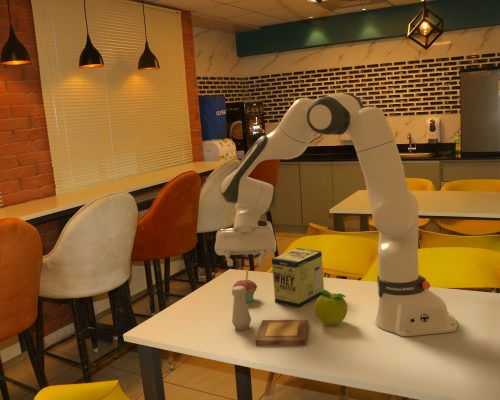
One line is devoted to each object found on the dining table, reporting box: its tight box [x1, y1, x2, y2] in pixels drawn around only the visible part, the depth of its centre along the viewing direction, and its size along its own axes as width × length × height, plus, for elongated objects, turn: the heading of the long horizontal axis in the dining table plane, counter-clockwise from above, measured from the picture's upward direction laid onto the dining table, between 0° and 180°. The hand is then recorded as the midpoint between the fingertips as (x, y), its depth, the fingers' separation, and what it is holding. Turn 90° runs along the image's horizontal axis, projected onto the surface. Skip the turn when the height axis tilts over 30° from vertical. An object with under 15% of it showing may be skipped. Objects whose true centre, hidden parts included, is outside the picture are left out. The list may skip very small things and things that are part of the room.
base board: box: [254, 318, 309, 346], centre depth 150 cm, size 14×14×2 cm
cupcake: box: [232, 267, 258, 303], centre depth 179 cm, size 9×8×12 cm
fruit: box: [314, 288, 348, 327], centre depth 153 cm, size 9×9×10 cm
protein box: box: [271, 247, 325, 309], centre depth 176 cm, size 10×16×16 cm
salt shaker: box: [231, 286, 252, 331], centre depth 156 cm, size 6×6×13 cm
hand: (244, 264), depth 165 cm, fingers open, 8 cm apart
